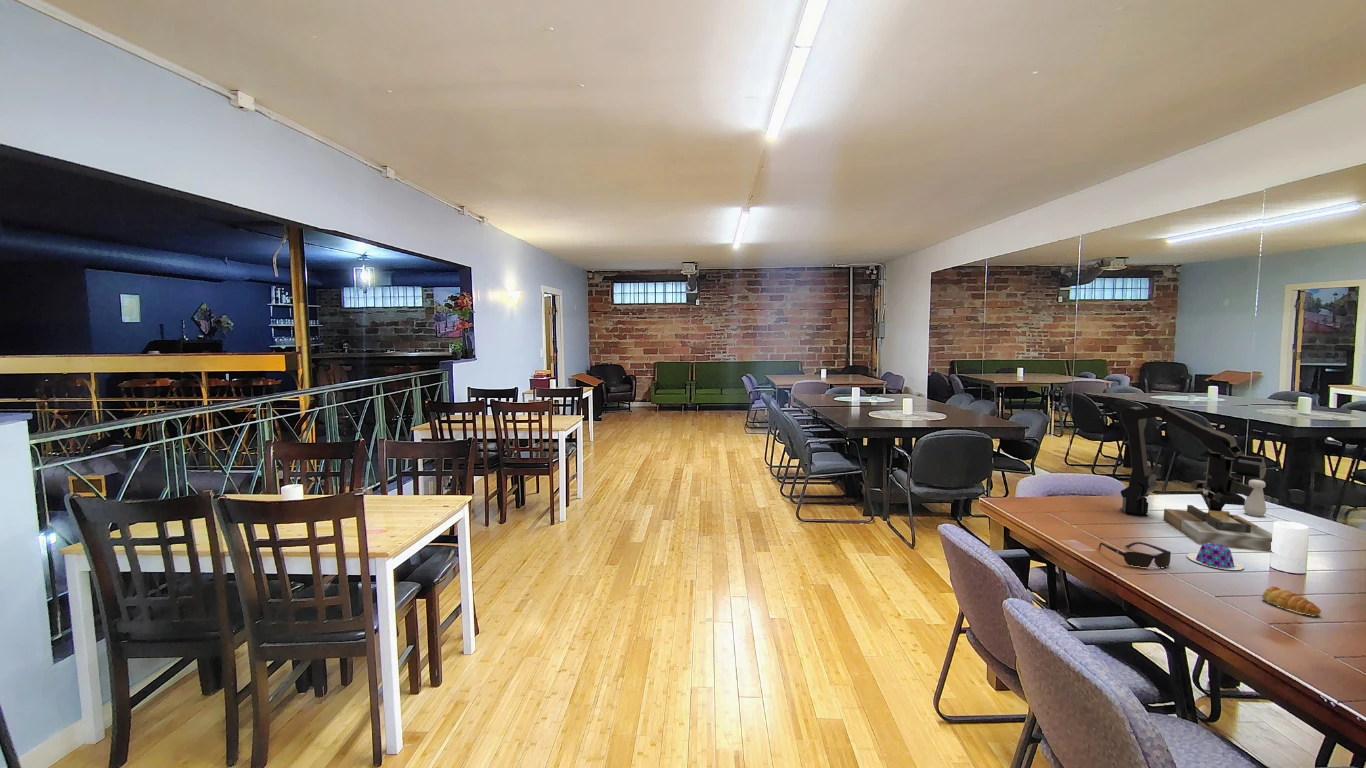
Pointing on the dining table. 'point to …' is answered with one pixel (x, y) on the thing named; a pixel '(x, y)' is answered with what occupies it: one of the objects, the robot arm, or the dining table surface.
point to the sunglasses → (1143, 556)
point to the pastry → (1290, 601)
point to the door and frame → (1218, 529)
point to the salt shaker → (1256, 499)
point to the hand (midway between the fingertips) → (1214, 517)
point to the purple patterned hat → (1215, 556)
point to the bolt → (1221, 516)
